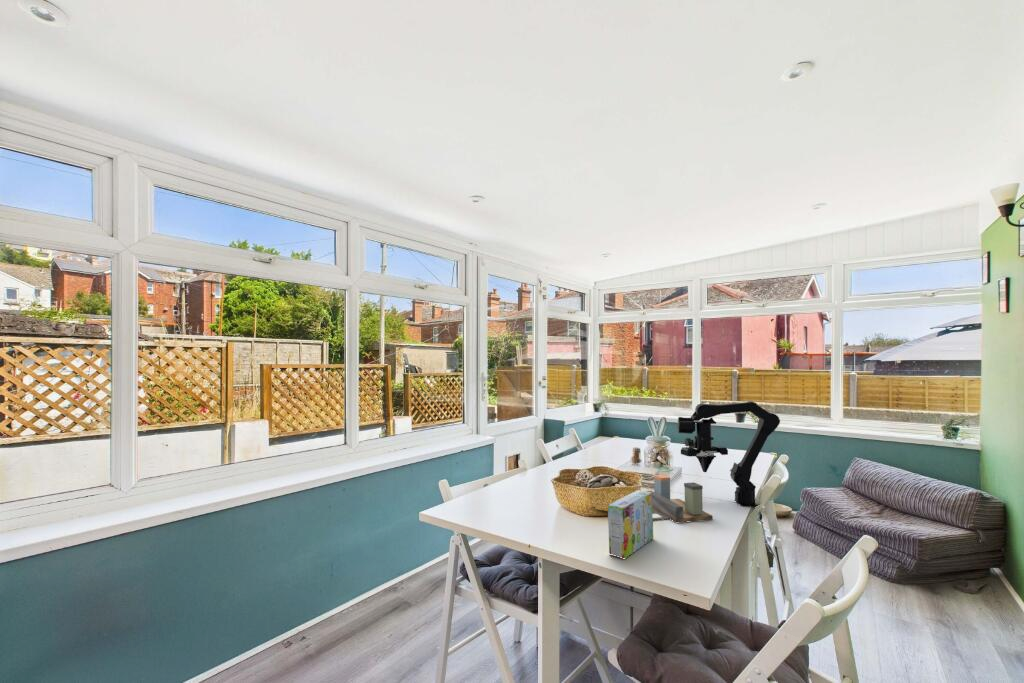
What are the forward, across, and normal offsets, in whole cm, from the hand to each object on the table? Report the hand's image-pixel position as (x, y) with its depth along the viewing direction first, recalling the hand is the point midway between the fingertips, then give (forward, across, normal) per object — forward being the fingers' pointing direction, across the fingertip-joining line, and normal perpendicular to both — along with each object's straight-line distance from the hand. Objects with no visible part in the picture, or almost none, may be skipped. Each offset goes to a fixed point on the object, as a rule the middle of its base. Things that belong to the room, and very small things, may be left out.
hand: (704, 472), depth 191 cm
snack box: (+12, +52, +37) cm, 65 cm away
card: (+12, +31, +10) cm, 34 cm away
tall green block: (+10, +17, +17) cm, 26 cm away
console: (+12, +19, +10) cm, 25 cm away
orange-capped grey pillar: (+10, +21, +3) cm, 24 cm away
